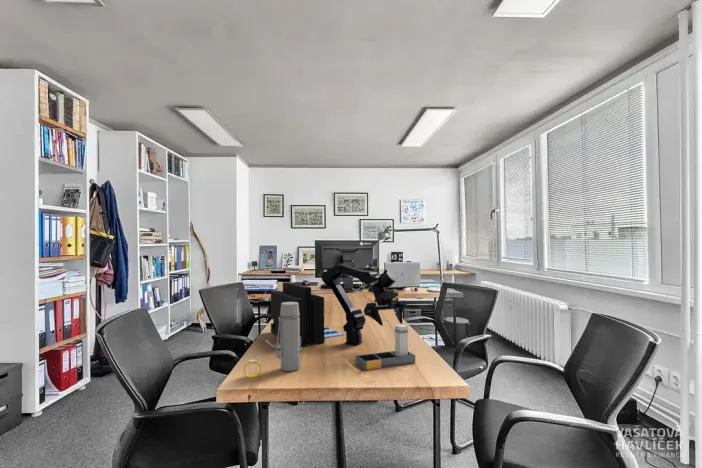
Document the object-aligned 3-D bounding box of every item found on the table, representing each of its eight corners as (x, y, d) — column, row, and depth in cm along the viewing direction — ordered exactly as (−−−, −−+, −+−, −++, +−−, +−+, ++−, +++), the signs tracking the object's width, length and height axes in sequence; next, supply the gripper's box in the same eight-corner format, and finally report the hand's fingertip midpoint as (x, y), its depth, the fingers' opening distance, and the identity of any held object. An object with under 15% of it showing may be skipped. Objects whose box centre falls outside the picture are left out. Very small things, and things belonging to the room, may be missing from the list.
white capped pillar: (395, 359, 155) (394, 325, 156) (403, 358, 157) (402, 324, 157) (400, 362, 152) (399, 327, 152) (408, 361, 153) (407, 326, 153)
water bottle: (294, 364, 152) (294, 301, 153) (303, 370, 146) (303, 303, 146) (272, 368, 147) (272, 303, 148) (280, 374, 141) (280, 306, 141)
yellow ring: (260, 375, 141) (261, 359, 141) (260, 378, 138) (261, 361, 139) (243, 376, 139) (244, 359, 140) (243, 378, 137) (244, 361, 137)
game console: (270, 332, 207) (270, 282, 207) (321, 325, 222) (321, 279, 223) (296, 347, 177) (295, 289, 177) (352, 339, 192) (352, 285, 192)
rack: (364, 371, 143) (364, 362, 144) (355, 364, 151) (355, 355, 152) (415, 364, 151) (415, 355, 152) (405, 358, 159) (404, 349, 160)
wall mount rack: (307, 347, 175) (306, 334, 175) (289, 357, 163) (288, 343, 163) (279, 343, 182) (279, 331, 182) (260, 352, 170) (259, 339, 170)
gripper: (366, 284, 164) (377, 314, 153) (404, 282, 171) (418, 311, 160) (359, 300, 171) (369, 330, 160) (396, 297, 178) (409, 326, 167)
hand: (392, 324), depth 162 cm, fingers open, 9 cm apart
